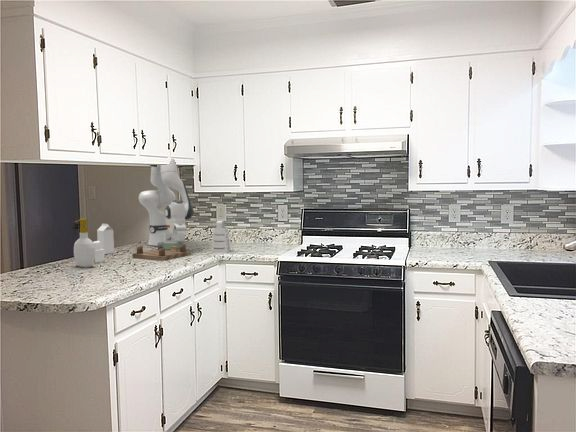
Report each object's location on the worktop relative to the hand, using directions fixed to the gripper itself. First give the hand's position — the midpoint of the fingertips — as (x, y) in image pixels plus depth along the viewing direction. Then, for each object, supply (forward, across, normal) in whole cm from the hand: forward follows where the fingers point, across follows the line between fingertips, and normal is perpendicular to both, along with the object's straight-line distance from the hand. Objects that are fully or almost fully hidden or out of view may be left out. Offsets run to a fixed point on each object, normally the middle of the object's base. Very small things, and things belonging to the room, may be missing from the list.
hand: (178, 247), depth 308 cm
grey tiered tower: (+4, +7, +26) cm, 27 cm away
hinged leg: (+1, +1, -5) cm, 5 cm away
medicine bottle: (+4, +12, -50) cm, 52 cm away
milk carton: (+4, -18, -42) cm, 46 cm away
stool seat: (+3, +10, -13) cm, 17 cm away
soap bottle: (+4, +26, -57) cm, 62 cm away
